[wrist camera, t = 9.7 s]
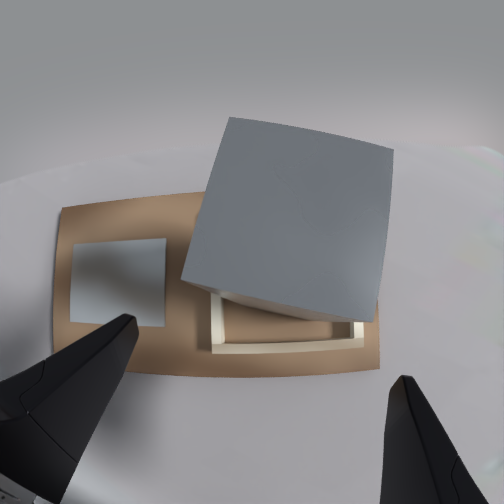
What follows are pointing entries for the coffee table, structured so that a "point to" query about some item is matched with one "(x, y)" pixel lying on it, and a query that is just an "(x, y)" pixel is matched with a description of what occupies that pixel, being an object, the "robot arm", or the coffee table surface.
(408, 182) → the coffee table surface
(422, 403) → the robot arm
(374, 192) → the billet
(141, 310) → the wooden board
